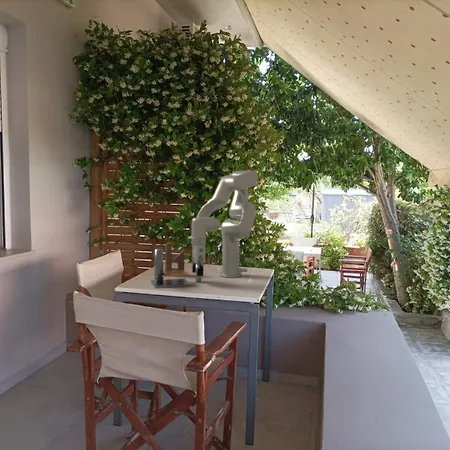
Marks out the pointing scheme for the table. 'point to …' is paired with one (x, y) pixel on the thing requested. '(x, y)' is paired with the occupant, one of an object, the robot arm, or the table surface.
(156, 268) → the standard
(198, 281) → the wedge pin
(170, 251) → the brown slanted frame
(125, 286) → the table surface
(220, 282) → the table surface
